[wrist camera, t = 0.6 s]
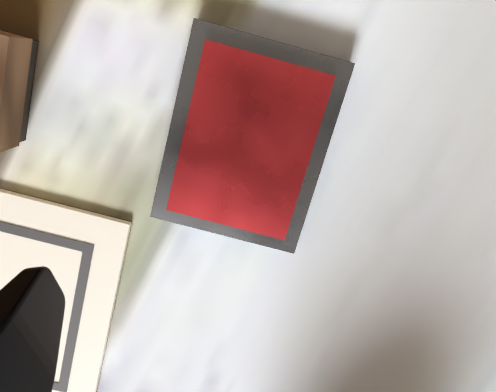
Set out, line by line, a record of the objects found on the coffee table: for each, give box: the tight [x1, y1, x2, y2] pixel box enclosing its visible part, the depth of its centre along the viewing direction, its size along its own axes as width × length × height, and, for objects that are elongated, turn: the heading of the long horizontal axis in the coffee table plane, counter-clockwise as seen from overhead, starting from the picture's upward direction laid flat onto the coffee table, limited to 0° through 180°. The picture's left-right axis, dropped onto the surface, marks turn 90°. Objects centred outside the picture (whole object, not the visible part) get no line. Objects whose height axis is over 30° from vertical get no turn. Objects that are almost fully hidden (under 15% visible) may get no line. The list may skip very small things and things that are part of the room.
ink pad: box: [150, 18, 355, 253], centre depth 21 cm, size 9×7×2 cm
